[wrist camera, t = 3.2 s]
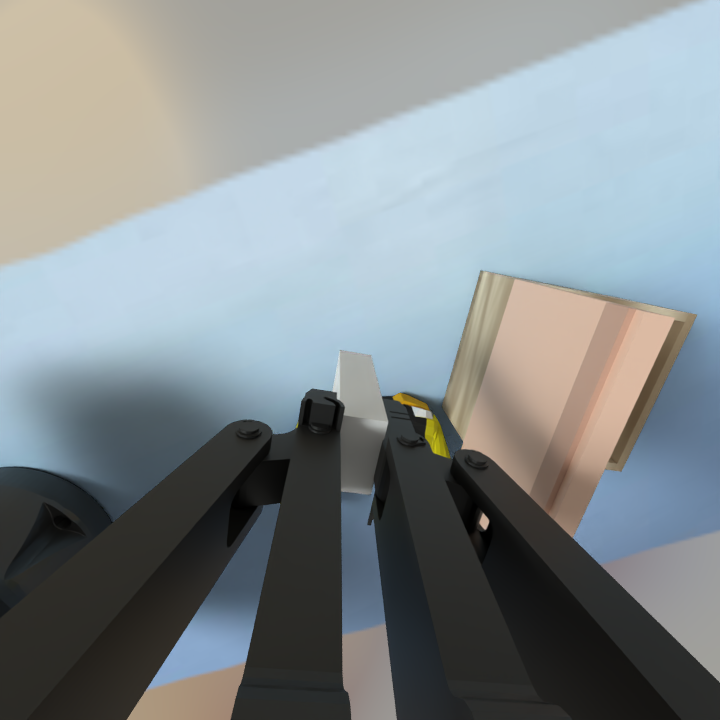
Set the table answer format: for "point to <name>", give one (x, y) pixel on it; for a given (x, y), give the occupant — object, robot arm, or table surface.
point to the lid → (562, 392)
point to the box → (483, 334)
